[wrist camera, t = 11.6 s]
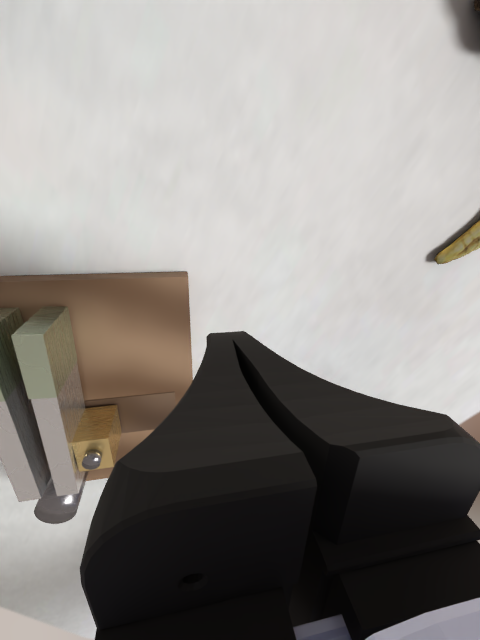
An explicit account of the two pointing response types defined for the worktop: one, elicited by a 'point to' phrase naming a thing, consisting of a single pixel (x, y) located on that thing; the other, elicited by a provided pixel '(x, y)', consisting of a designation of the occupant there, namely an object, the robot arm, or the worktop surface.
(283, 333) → the worktop surface
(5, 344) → the tongs fixed
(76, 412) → the bar
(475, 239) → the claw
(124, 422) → the board
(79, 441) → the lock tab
